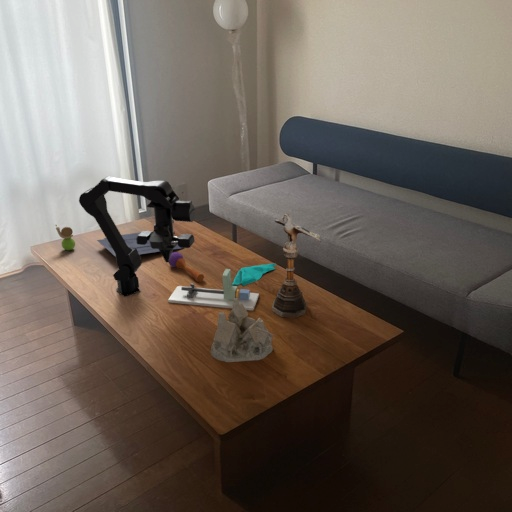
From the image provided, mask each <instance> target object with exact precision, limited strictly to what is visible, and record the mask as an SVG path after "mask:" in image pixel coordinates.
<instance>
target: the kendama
mask: <svg viewBox="0 0 512 512" xmlns="http://www.w3.org/2000/svg"><path fill="white" fill-rule="evenodd" d="M168 264H169V265H170V266H171V267H172V268H177V269H185V270H186V272H188V274H190V276H191V277H192V278H193V279H194V280H195V281H196V282H197V283H201V282H203V280H204V279H205V276H204V274H203V273H201V272H199V271H197V270H195V269H193V268H191V267H190V266H187V263H186V259H185V258H184V256H183V255H182V253H180V252H176V251H174V252H172V254H171V257H170V260H169V262H168Z"/></svg>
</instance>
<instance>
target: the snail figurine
mask: <svg viewBox="0 0 512 512" xmlns="http://www.w3.org/2000/svg"><path fill="white" fill-rule="evenodd" d="M55 229H56V232H57V234H58V235H59V237H60V238H62V241H61V247H62V248H63V250H66V251H71V250H73V249H74V248H75V247H76V242H75V239H74V238H73V237H74V234H73V229H72V228H71V227H69V226H65V227H62V229H61V228H60V227H58V226H57V224H55Z"/></svg>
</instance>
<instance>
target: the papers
mask: <svg viewBox="0 0 512 512" xmlns="http://www.w3.org/2000/svg"><path fill="white" fill-rule="evenodd" d="M153 231H154V230H152V232H153ZM141 232H142V231H141ZM141 232H134V233H126V234H121V236H122V237H123V239H124V241H125V242H126V244H127V246H128V247H129V248H131V249H132V250H133V249H135V248H136V249H137V251H138V254H139V255H140V256H141V255H145V254H151V253H157V252H160V250H159V249H157V248H155V249H153V248H151V245H150V242H149V240H147V243H146V244H145V245H141V244H137V240H136V238H137V236H138V235H139V234H140V233H141ZM96 241H97V242H98V243H99V244H101V245H102V246H103V247H104V248H105V249H107V250H108V252H110V253H111V255H113V256H114V257H115V258H116V254H115V252H114V250H113V249H112V247H111V245H110V244H109V242H108V240H107V238H106V237H103V239H98V240H97V239H96ZM178 249H179V250H180V249H181V248H180V247H179V246H178V244H177V245H176V246H175V248H173V250H178Z"/></svg>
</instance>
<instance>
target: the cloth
mask: <svg viewBox="0 0 512 512" xmlns="http://www.w3.org/2000/svg"><path fill="white" fill-rule="evenodd" d="M275 266H277V263H267V264H260V265H252V266H246V267H241V268H240V270H238V271H237V274H236V275H235V277H234V279H233V282H231V286H240V285H242V287H245V286H247V285H249V284H252V283H255V282H257V281H259V280H260V279H261V278H262V276H263V275H264V274H266V273H267V272H268V273H269V272H271V271H273V270H276V268H275Z"/></svg>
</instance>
